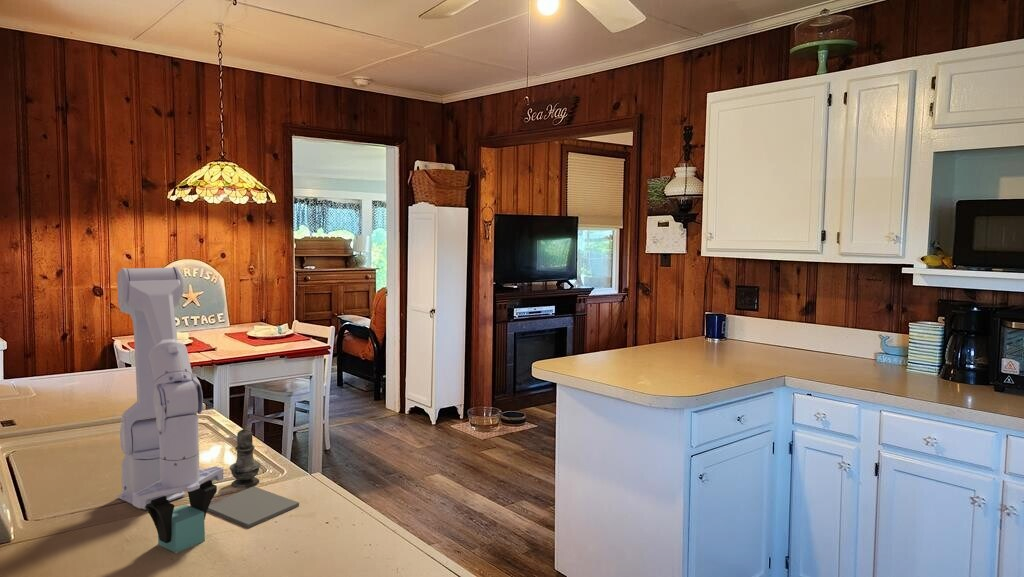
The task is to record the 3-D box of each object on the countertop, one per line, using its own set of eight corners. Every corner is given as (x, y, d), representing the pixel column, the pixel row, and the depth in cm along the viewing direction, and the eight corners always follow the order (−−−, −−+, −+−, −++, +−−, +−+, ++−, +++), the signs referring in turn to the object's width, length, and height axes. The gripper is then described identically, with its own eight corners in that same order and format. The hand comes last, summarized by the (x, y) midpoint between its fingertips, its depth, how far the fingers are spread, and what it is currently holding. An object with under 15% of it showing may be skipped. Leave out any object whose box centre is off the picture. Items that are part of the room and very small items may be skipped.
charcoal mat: (203, 508, 123) (203, 505, 123) (254, 489, 133) (254, 486, 133) (248, 527, 117) (248, 524, 117) (299, 505, 126) (299, 502, 126)
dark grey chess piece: (250, 490, 132) (249, 431, 131) (223, 487, 133) (222, 428, 132) (266, 479, 138) (266, 422, 137) (241, 476, 139) (240, 419, 138)
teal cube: (158, 544, 110) (157, 515, 110) (186, 532, 114) (186, 504, 114) (176, 553, 107) (175, 523, 107) (204, 540, 112) (204, 512, 111)
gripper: (149, 473, 101) (152, 559, 103) (234, 447, 113) (235, 524, 115) (123, 463, 105) (126, 546, 106) (208, 438, 117) (210, 513, 118)
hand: (181, 534), depth 111 cm, fingers closed on teal cube, 5 cm apart
